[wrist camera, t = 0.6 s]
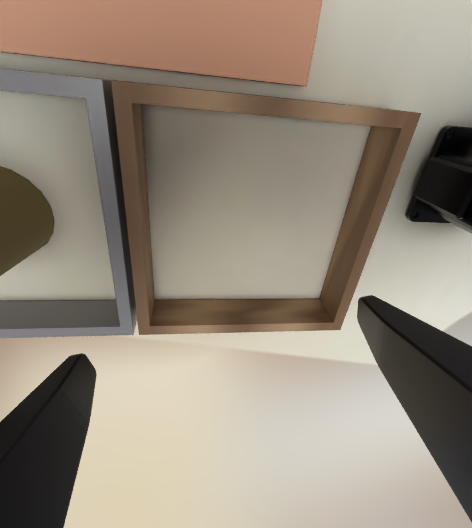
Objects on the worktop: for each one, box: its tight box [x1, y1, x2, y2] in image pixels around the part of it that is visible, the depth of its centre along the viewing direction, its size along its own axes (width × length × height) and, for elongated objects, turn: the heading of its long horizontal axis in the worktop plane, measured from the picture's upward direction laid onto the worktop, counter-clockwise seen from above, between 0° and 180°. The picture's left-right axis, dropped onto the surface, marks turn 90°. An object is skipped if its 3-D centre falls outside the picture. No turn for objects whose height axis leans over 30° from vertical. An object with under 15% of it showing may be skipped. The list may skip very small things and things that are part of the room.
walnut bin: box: [111, 81, 421, 335], centre depth 19 cm, size 16×16×3 cm
